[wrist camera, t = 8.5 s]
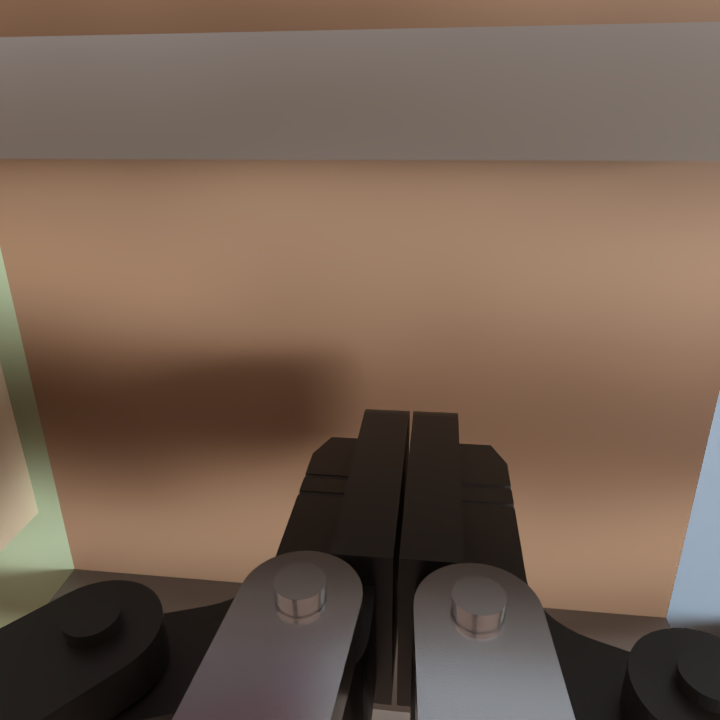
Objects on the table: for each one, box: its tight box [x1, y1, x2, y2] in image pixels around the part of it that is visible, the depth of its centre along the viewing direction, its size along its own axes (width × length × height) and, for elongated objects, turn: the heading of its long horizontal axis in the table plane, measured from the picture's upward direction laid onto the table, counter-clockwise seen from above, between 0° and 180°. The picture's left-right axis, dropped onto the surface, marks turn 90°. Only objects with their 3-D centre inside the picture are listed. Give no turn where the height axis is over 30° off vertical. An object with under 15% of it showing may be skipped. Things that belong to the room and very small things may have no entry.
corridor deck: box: [0, 0, 720, 720], centre depth 14 cm, size 16×26×6 cm, turn 91°
